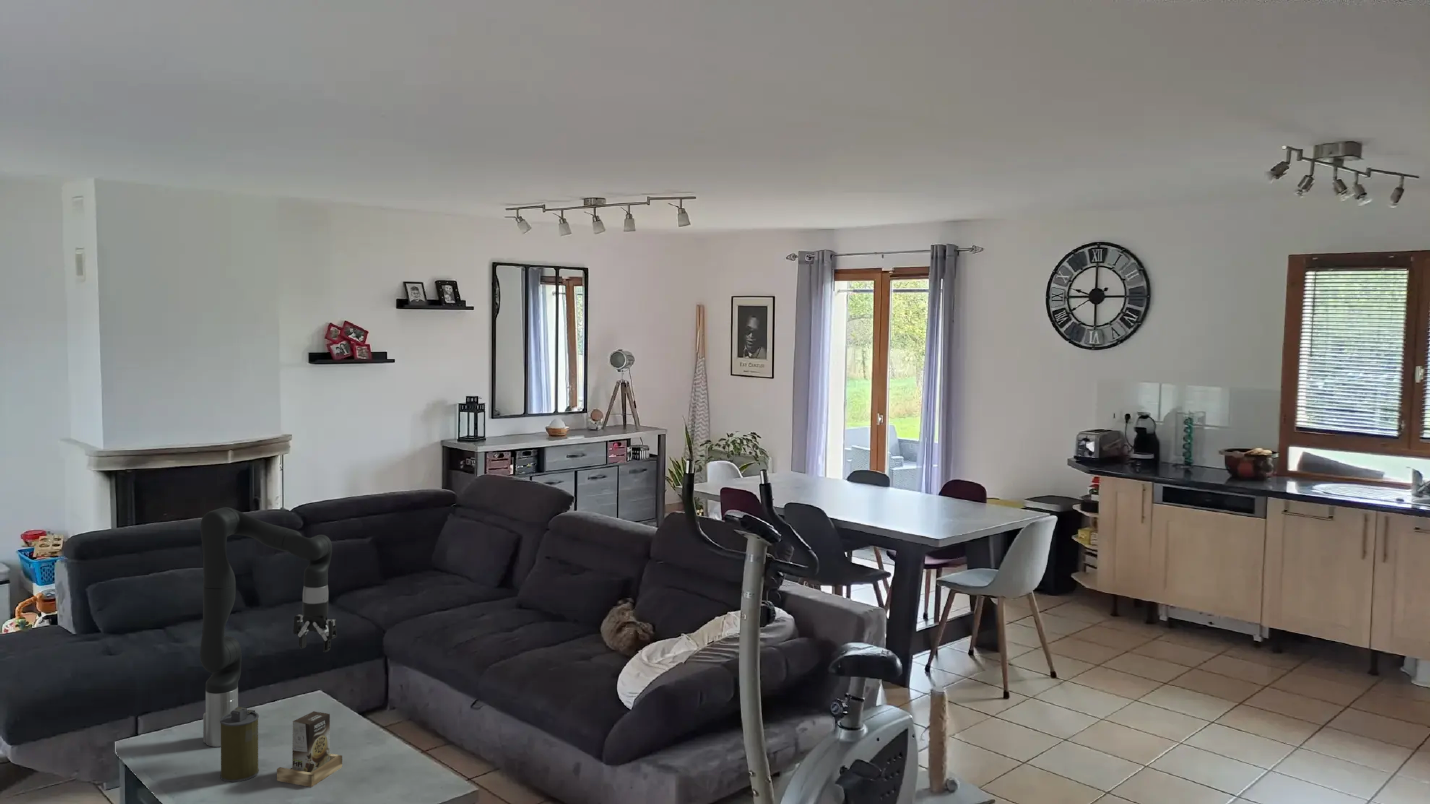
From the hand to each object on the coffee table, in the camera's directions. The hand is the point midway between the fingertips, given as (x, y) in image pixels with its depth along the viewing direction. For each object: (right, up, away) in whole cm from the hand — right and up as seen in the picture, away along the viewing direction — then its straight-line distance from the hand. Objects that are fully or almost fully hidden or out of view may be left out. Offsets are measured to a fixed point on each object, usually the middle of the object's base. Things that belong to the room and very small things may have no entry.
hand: (314, 649), depth 314 cm
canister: (-15, -33, -18) cm, 40 cm away
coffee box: (+5, -32, -16) cm, 36 cm away
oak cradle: (+5, -33, -16) cm, 37 cm away
